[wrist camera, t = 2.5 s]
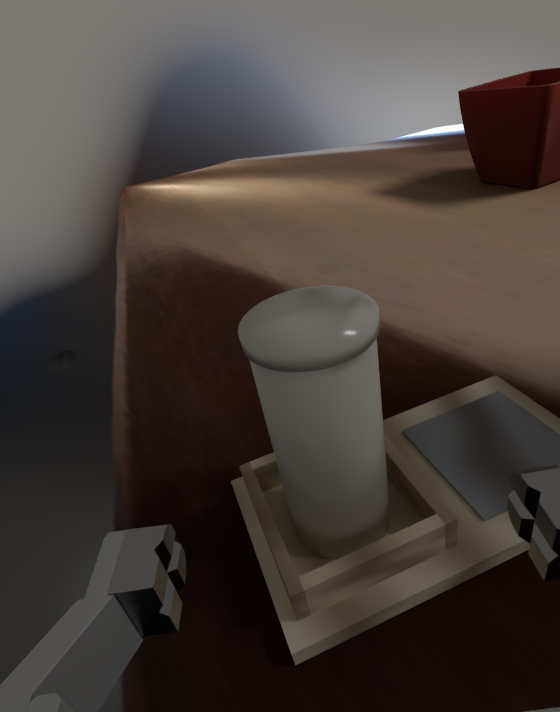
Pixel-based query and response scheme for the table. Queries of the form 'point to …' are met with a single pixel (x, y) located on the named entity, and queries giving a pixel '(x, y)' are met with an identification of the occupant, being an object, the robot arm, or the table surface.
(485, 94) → the plant pot
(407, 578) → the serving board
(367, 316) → the tall white canister
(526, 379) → the table surface
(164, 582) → the robot arm
